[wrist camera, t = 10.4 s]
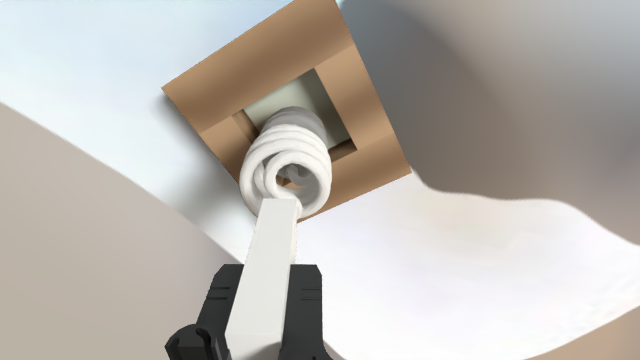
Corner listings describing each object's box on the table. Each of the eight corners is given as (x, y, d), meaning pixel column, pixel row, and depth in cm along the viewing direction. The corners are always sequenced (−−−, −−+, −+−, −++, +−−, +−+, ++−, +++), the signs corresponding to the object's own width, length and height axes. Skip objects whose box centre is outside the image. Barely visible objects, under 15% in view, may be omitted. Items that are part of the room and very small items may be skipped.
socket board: (182, 76, 26) (160, 87, 22) (324, -17, 22) (325, -21, 19) (281, 208, 33) (277, 232, 29) (401, 152, 29) (412, 172, 26)
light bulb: (261, 96, 25) (219, 157, 15) (326, 91, 25) (330, 149, 15) (271, 155, 28) (242, 242, 18) (330, 151, 28) (336, 236, 17)
